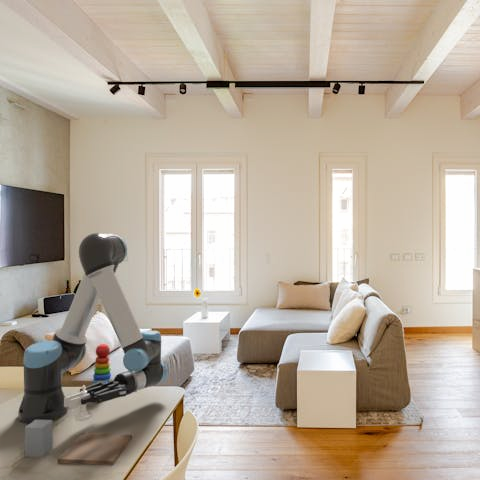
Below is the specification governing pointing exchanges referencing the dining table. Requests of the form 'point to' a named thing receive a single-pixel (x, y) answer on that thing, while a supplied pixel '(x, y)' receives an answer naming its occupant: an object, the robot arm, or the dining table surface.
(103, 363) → the stacking toy
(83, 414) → the chess piece
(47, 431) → the slate block
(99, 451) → the walnut pad
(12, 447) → the dining table surface
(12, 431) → the dining table surface
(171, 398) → the dining table surface
